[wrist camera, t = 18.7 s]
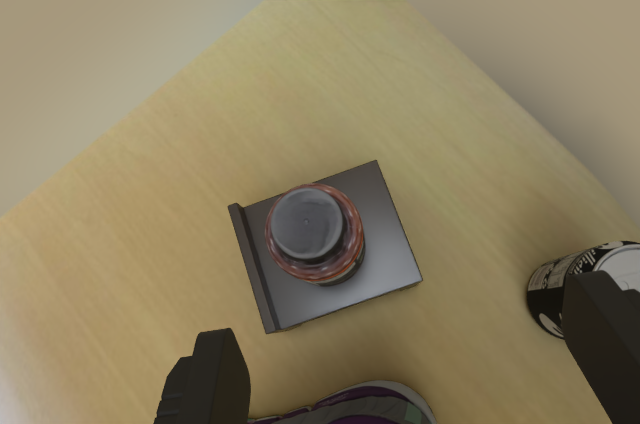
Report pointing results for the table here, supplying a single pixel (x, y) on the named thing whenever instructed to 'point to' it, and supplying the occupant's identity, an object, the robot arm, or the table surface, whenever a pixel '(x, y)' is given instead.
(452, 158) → the table surface
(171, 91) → the table surface
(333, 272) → the supplement bottle
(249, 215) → the shelf
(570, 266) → the beverage can
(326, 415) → the running shoe
